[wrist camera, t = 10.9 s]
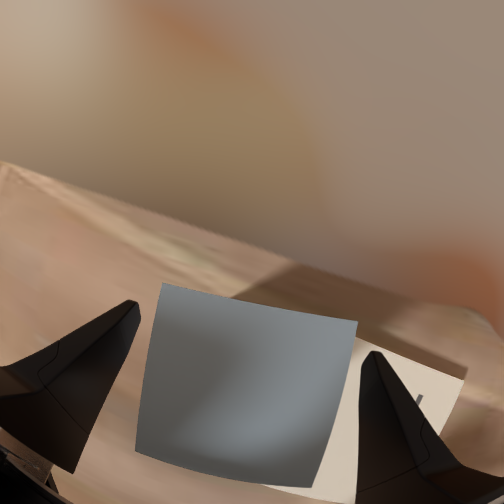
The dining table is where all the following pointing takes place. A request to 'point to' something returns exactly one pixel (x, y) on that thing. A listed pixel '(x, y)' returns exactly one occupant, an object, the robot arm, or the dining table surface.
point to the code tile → (347, 421)
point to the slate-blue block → (241, 387)
